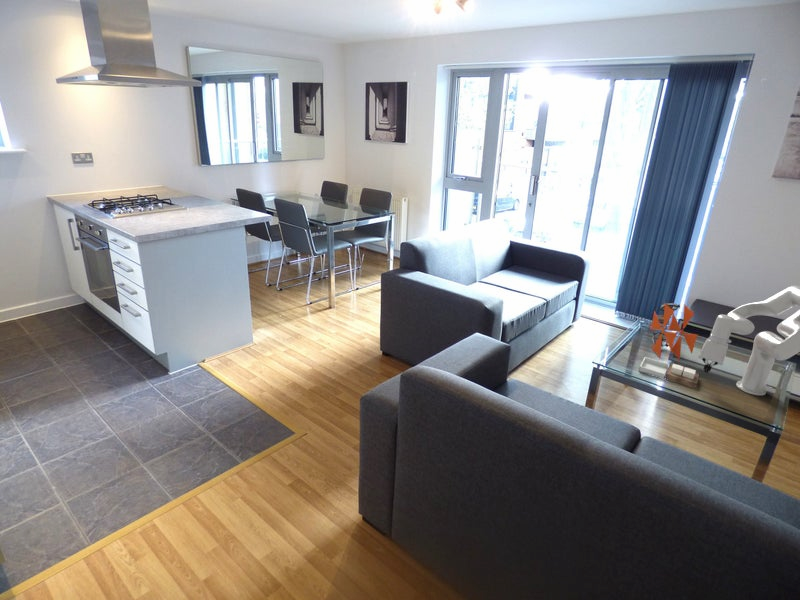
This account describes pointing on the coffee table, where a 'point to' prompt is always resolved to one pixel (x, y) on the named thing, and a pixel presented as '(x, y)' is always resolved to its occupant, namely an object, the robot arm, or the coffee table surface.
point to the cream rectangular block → (689, 372)
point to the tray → (653, 367)
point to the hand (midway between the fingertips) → (706, 371)
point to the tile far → (677, 369)
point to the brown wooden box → (682, 378)
